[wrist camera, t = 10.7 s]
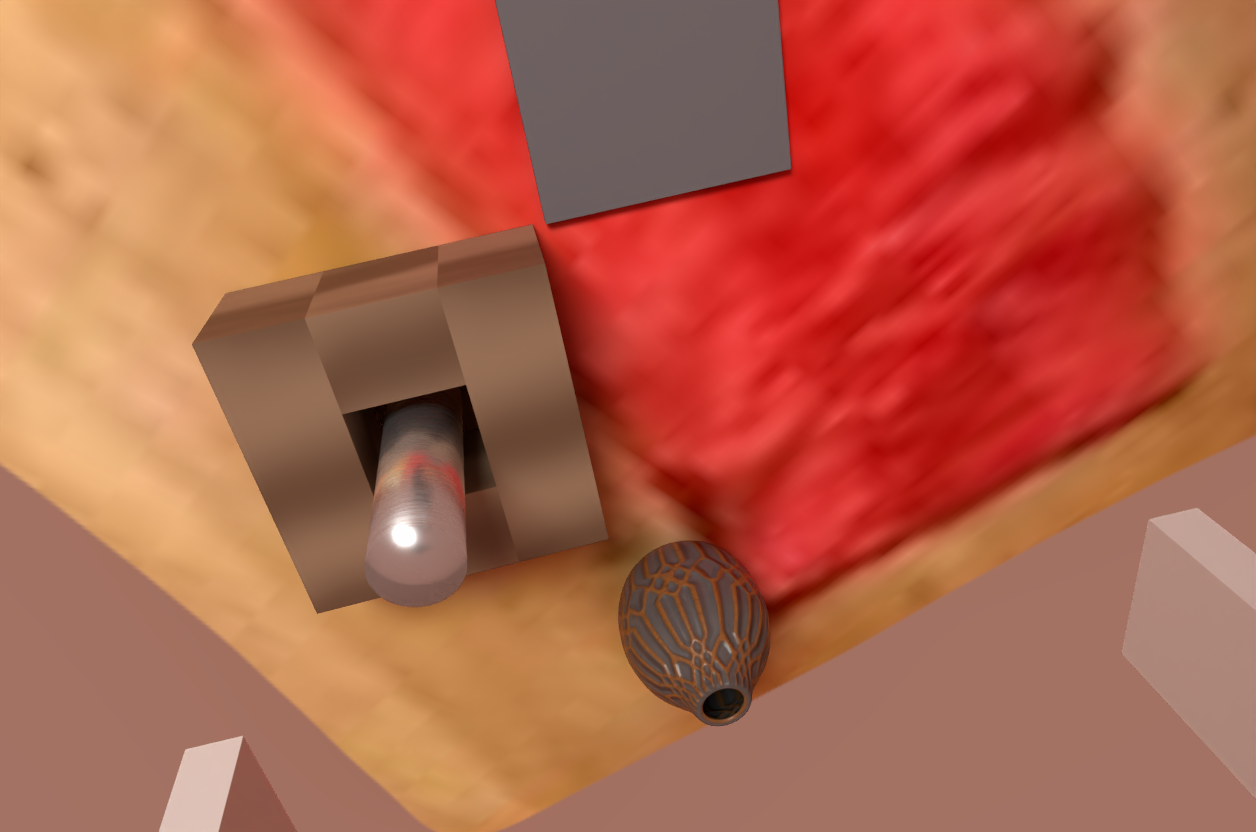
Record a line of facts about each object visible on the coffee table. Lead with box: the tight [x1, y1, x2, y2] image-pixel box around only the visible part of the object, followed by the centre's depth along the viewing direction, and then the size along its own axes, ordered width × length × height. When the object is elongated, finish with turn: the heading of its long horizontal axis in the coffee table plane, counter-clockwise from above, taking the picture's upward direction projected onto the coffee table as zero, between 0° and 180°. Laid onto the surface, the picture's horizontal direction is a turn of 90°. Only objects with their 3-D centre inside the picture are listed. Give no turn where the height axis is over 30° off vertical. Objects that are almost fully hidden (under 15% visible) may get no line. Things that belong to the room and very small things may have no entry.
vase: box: [618, 541, 770, 726], centre depth 40 cm, size 7×7×9 cm
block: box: [192, 224, 609, 614], centre depth 34 cm, size 12×12×5 cm
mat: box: [495, 0, 791, 224], centre depth 32 cm, size 10×10×1 cm
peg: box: [365, 386, 467, 607], centre depth 31 cm, size 3×3×12 cm
